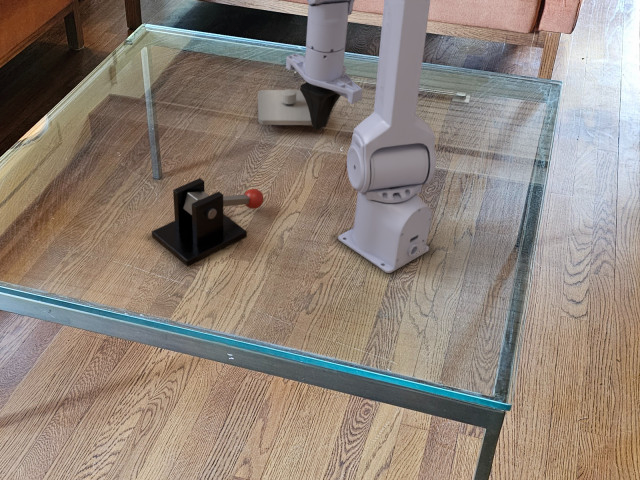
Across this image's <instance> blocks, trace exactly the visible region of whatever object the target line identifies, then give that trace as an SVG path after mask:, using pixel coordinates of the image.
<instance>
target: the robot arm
mask: <svg viewBox="0 0 640 480" xmlns="http://www.w3.org/2000/svg"><path fill="white" fill-rule="evenodd" d="M306 1H307V3H308V4H307V5H308V6H307V7H308V9H307V25H306V40H305V52H304V53H305V55H301V54H298V53H296V52H295V53H293V54H290V55H288V56H286V57H285V69H286V70H288V71H293V70H294V71H296V73H298V74H299V75H300V76H301V78H302V79H303V80H304V81H305V82H304V83H302V84H301V85H299V90H300V91H301V92H302V94H303V96H304V98H305V100H306V103H307V105H308V109H309V113H310V117H311V122H312V125H311V127H312V128H313V129H314V130H316V131H319V130H321V129H324V128H326V127H327V124H328V122H329V118H330V116H331V113H332V111H333V109H334V107H335V105H336V104H337V102H338V100H339V99H340V98H341V96H342V97H343V98H344V99H347V103H349V104H350V105H354V104H357V103H359V102H361V101H362V100H363V93H364V91H363V90H364V89H363V88H362V87H361V86H359V85H358V84H357V83H356V82H355V81H354V80H353V79H352V78H351V77H350V76H349V75H348V74H347V66H346V65H345V54H346V45H347V33H348V22H349V16H351V15H352V14H353V9H354V3H355V1H356V0H306ZM430 5H431V0H383V10H382V21H381V29H380V30H381V31H380V41H379V42H380V43H379V51H378V52H379V53H378V54H379V55H378V62H377V63H378V64H377V71H376V73H377V74H376V85H375V94H374V105H373V111H372V113H371V114H369V116H367V117H366V118H365V119H363V120H362V121H361V122H360V123H359V124H358V125H356V126H355V127H354V128H353V132H352V133H353V134H352V136H351V141H350V146H349V148H348V151H347V155H346V170H347V176H348V180H349V183H350V185H351V187H352V188H353V189H354V190H355V191H356V192H357V196H356V204H355V212H354V218H353V219H354V220H353V227H352V228H350V229H349V230H347V231H344V232H343V233H341V234H339V235H338V241H340V242H341V243H342V244H344V245H345V246H347V247H348V248H350V249H351V250H353V251H354V252H356V253H357V254H359V255H360V256H362V257H363V258H364V259H366V260H367V261H369V262H370V263H372V264H373V265H374V266H376V267H377V268H379V269H380V270H382V271H383V272H385V273H387V274H391V273H393V272H395V271H397V270H398V269H400V268H402V267H404V266H405V265H407V264H408V263H410V262H412V261H414V260H416V259H418V258H419V257H421V256H422V255H424V254H426V253H427V252H429V250H430V246H428V245H427V243H428V239H429V234H430V229H431V224H432V218H433V211H432V209H431V208H430V207H429V205H428V204H426V203H425V202H424V201H423V200H422V198H421V197H420V195H419V194H421V193H422V188H423V185H427V184H429V183H430V182H431V181H432V179H433V177H434V175H435V172H436V167H437V156H436V135H435V132H434V130H433V128H432V127H431V125H430V124H428V122H426V121H425V120H424V119H422V118H421V117H420V116H418V115H417V109H418V108H417V107H418V99H419V93H420V84H421V76H422V68H423V61H424V55H425V54H424V53H425V45H426V37H427V30H428V22H429V14H430V7H431V6H430ZM419 251H421V252H419ZM418 252H419V253H418ZM416 253H417V254H416Z"/></svg>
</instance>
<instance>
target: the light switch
mask: <svg viewBox="0 0 640 480" xmlns="http://www.w3.org/2000/svg"><path fill="white" fill-rule="evenodd" d="M257 119H258V121H257V122H258V124H260V125H261V126H312V122H311V117H310V113H309V109H308V105H307V103H306V100H305V98H304V96H303V94H302V92H301V91H300V89H292V88H286V89H261V90H258V91H257Z"/></svg>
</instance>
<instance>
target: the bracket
mask: <svg viewBox="0 0 640 480" xmlns="http://www.w3.org/2000/svg"><path fill="white" fill-rule="evenodd" d="M200 191H204V192H205V193H206V190H205V181H204V180H203V178H200V177H199V178H197V179H194V180H192V181H190V182H188V183H186V184H183V185H180V186H179V187H176V188H174V189H172V195H173V197H172V198H173V213H174V220H173V221H171V222H169V223H167V224H164V225H162V226H160V227H158V228H156V229H153V230H152V231H151V237H152V239H154V240H155V241H156V242H158V243H159V244H160V245H161V246H162V247H163V248H165V249H166V250H167V252H169V253H170V254H172V255H173V256H174V257H175V258H177V260H179V261H180V262H181V263H183V264H184V265H185V266H186V267H189V266H191V265H193V264H195V263H197V262H199V261H201V260H203V259H205V258H208V257H209V256H211V255H213V254H215V253H218V252H219V251H221V250H223V249H226V248H227V247H230V246H232V245H234V244H235V243H237V242H239V241H241V240H243V239H246V238H247V237H248V231H247V230H246V229H244V228H243V226H241V225H239V224H238V223H237V222H235V221H234V220H233V219H231V218H229V216H227V215H226V214H224V207H223V196H224V194H222V192H220V191H216V192H215V193H212V194H209V196H208V197H205V198H203V199H201V200H199V201H197V202H194V203H192V215H191V214H190V213H188V212H187V211H186V210H184V209H183V208H184V204H185V200H186V196H187V193H188V192H200Z"/></svg>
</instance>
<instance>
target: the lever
mask: <svg viewBox="0 0 640 480" xmlns="http://www.w3.org/2000/svg"><path fill="white" fill-rule="evenodd" d="M208 196H210V194H209V193H206V191H205V192H204V191H200V192H188V193H187V196H186V200H185V204H184V208H183V209H184V210H186V211H187V212H188V213H190V214H191V215H192V203H194V202H197V201H199V200H201V199H203V198H205V197H208ZM263 204H264V194H263V192H262V191H261V190H259V189H258V188H249V189H248V190H246V191H245V192H244V194H235V195H223V208H224V207H233V206H245V207H247V208H248V209H251V210H257V209H258V208H260V207H262V205H263Z"/></svg>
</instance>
